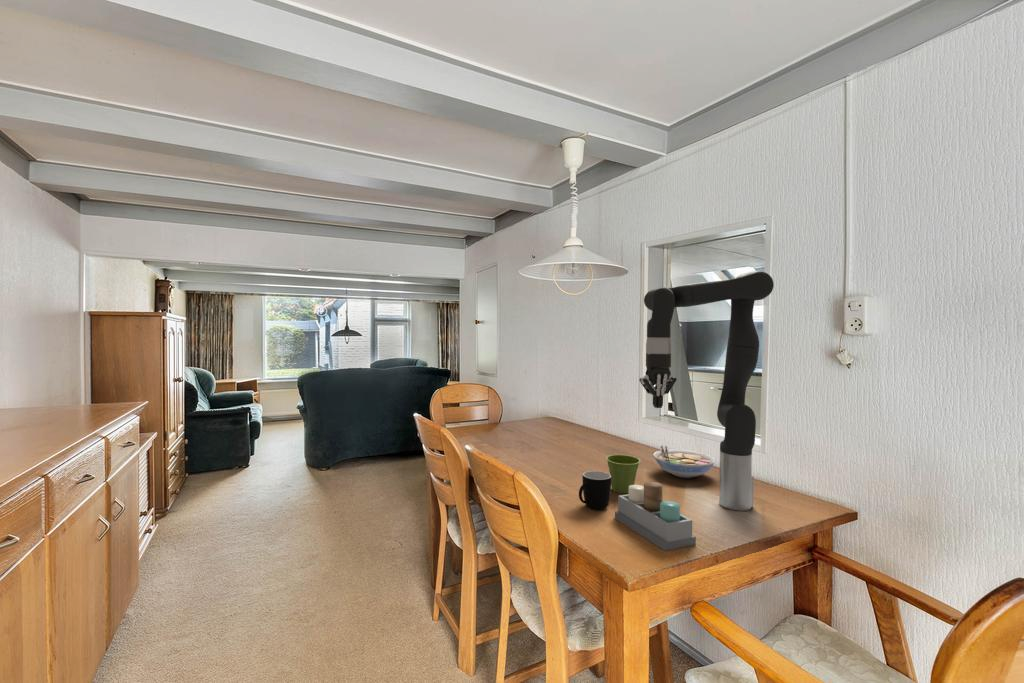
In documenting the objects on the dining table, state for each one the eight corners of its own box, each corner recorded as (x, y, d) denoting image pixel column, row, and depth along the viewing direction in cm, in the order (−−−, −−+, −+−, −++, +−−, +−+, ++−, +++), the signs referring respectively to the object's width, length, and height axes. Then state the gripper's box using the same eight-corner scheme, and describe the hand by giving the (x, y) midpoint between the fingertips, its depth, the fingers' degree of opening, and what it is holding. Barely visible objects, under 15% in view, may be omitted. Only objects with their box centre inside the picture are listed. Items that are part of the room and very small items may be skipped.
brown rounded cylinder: (654, 503, 129) (654, 481, 129) (666, 510, 125) (666, 486, 125) (639, 506, 127) (640, 483, 127) (651, 512, 123) (651, 488, 123)
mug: (596, 499, 149) (596, 469, 149) (616, 508, 142) (617, 476, 142) (569, 507, 142) (569, 475, 142) (589, 516, 135) (590, 483, 135)
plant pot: (603, 494, 154) (603, 461, 154) (607, 483, 166) (607, 453, 165) (639, 498, 151) (639, 465, 150) (641, 487, 162) (641, 456, 162)
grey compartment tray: (642, 513, 138) (642, 492, 138) (695, 544, 118) (696, 519, 118) (614, 517, 135) (615, 496, 134) (664, 550, 114) (664, 525, 114)
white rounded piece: (638, 505, 136) (639, 484, 136) (649, 511, 131) (649, 489, 131) (625, 507, 134) (625, 485, 134) (635, 513, 129) (635, 491, 129)
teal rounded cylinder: (670, 523, 123) (671, 499, 123) (684, 531, 118) (684, 506, 118) (655, 526, 121) (656, 502, 121) (668, 534, 116) (668, 508, 116)
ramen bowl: (720, 488, 161) (720, 465, 161) (653, 482, 168) (653, 460, 168) (710, 469, 185) (710, 449, 185) (652, 464, 192) (652, 445, 192)
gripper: (667, 351, 146) (666, 404, 147) (633, 351, 142) (632, 406, 142) (683, 352, 139) (683, 408, 140) (648, 352, 135) (648, 410, 135)
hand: (657, 407), depth 141 cm, fingers closed
